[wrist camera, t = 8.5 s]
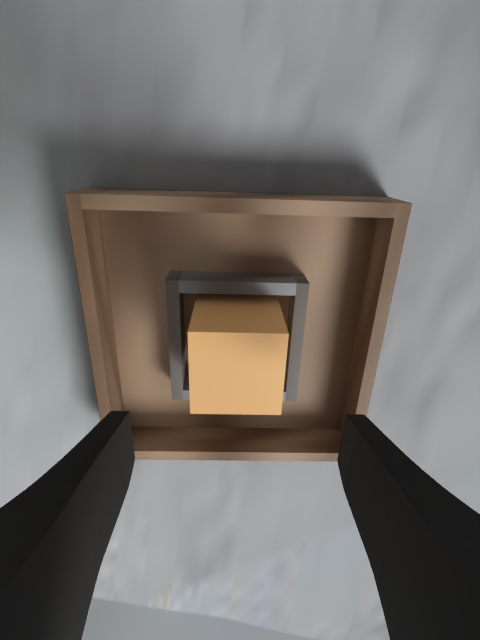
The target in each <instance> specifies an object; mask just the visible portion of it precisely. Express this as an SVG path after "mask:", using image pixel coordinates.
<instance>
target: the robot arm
mask: <svg viewBox="0 0 480 640" xmlns="http://www.w3.org/2000/svg"><path fill="white" fill-rule="evenodd" d="M134 461H135V453H134V444H133V436H132V427H131V418H130V411H110V412H109V413H108V414H107V415H106V416H105V417H104V418H103V419H102V420H101V421H100V422H99V423H98V424H97V425H96V426H95V427H94V428H93V429H92V430H91V431H90V432H89V433H88V434H87V435H86V436H85V437H84V438H83V439H82V440H81V441H80V442H79V443H78V444H77V445H76V446H75V447H74V448H73V449H72V450H71V451H70V452H69V453H67V454H66V455H65V456H64V457H63V458H62V459H61V460H60V461H59V462H58V463H56V464H55V465H54V466H53V467H52V468H51V469H50V470H48V471H47V472H46V473H45V474H44V475H43V476H42V477H40V478H39V479H38V480H37V481H36V482H34V483H33V484H32V485H31V486H29V487H28V488H27V489H26V490H24V491H23V492H22V493H20V494H19V495H18V496H16V497H15V498H14V499H12V500H11V501H10V502H8V503H7V504H5V505H4V506H3V507H1V508H0V640H81V638H82V634H83V630H84V626H85V622H86V618H87V614H88V610H89V606H90V603H91V599H92V595H93V591H94V587H95V584H96V580H97V576H98V573H99V569H100V566H101V563H102V560H103V557H104V554H105V551H106V549H107V546H108V543H109V540H110V538H111V535H112V532H113V529H114V527H115V524H116V521H117V518H118V516H119V513H120V510H121V507H122V504H123V502H124V499H125V496H126V493H127V490H128V487H129V483H130V479H131V474H132V470H133V465H134ZM337 461H338V466H339V470H340V475H341V479H342V484H343V488H344V491H345V494H346V497H347V500H348V503H349V506H350V508H351V511H352V514H353V517H354V520H355V522H356V525H357V528H358V531H359V533H360V536H361V539H362V542H363V544H364V547H365V550H366V553H367V555H368V558H369V561H370V564H371V568H372V571H373V574H374V577H375V581H376V585H377V589H378V593H379V596H380V600H381V604H382V608H383V612H384V616H385V620H386V624H387V628H388V632H389V636H390V640H480V514H479V513H477V512H476V511H474V510H473V509H471V508H470V507H469V506H467V505H466V504H465V503H463V502H462V501H461V500H459V499H458V498H457V497H455V496H454V495H453V494H451V493H450V492H449V491H447V490H446V489H445V488H444V487H442V486H441V485H440V484H439V483H437V482H436V481H435V480H434V479H433V478H431V477H430V476H429V475H428V474H427V473H426V472H424V471H423V470H422V469H421V468H420V467H419V466H417V465H416V464H415V463H414V462H413V461H412V460H411V459H410V458H409V457H407V456H406V455H405V454H404V453H403V452H402V451H401V450H400V449H399V448H398V447H397V446H396V445H395V444H394V443H393V442H392V441H391V440H390V439H389V438H388V437H387V436H386V435H384V434H383V433H382V432H381V431H380V430H379V429H378V428H377V427H376V426H375V425H374V424H373V423H372V422H371V421H370V420H369V419H368V418H367V417H366V416H365V415H364V414H346V416H345V422H344V427H343V432H342V438H341V443H340V449H339V454H338V459H337Z"/></svg>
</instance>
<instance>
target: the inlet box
mask: <svg viewBox="0 0 480 640" xmlns="http://www.w3.org/2000/svg"><path fill="white" fill-rule="evenodd" d="M65 199H66V205H67V212H68V218H69V224H70V231H71V237H72V243H73V250H74V256H75V262H76V269H77V275H78V281H79V288H80V294H81V300H82V307H83V313H84V319H85V326H86V332H87V338H88V345H89V351H90V357H91V364H92V370H93V376H94V383H95V389H96V395H97V402H98V408H99V414H100V420H102V419H103V418H104V417H105V416H106V415H107V414H108V413H109V412H110V411H130V418H131V427H132V436H133V444H134V453H135V459H153V460H248V461H337V459H338V454H339V449H340V443H341V438H342V432H343V427H344V422H345V416H346V414H364V415H365V416H367V412H368V407H369V402H370V398H371V393H372V388H373V384H374V379H375V374H376V369H377V365H378V360H379V355H380V351H381V346H382V341H383V337H384V332H385V327H386V323H387V318H388V313H389V309H390V304H391V299H392V295H393V290H394V285H395V281H396V276H397V271H398V267H399V262H400V257H401V253H402V248H403V243H404V239H405V234H406V229H407V224H408V220H409V215H410V210H411V206H412V203H409V202H405V201H401V200H398V199H394V198H391V197H375V196H342V195H309V194H276V193H242V192H209V191H176V190H143V189H110V188H84V189H80V190H76V191H72V192H67V193H65ZM197 293H200V294H244V295H277V297H278V300H279V303H280V307H281V310H282V313H283V316H284V320H285V323H286V326H287V329H288V333H289V337H288V348H287V359H286V369H285V380H284V390H283V401H282V412H281V415H243V414H190V393H189V363H188V328H189V324H190V320H191V316H192V312H193V309H194V305H195V301H196V297H197Z"/></svg>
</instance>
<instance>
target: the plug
mask: <svg viewBox="0 0 480 640" xmlns="http://www.w3.org/2000/svg"><path fill="white" fill-rule="evenodd" d="M288 337H289V333H288V329H287V326H286V323H285V320H284V316H283V313H282V310H281V307H280V303H279V300H278V297H277V295H244V294H200V293H197V297H196V301H195V305H194V309H193V312H192V316H191V320H190V324H189V328H188V363H189V393H190V414H243V415H281V412H282V401H283V390H284V380H285V369H286V359H287V348H288Z"/></svg>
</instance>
